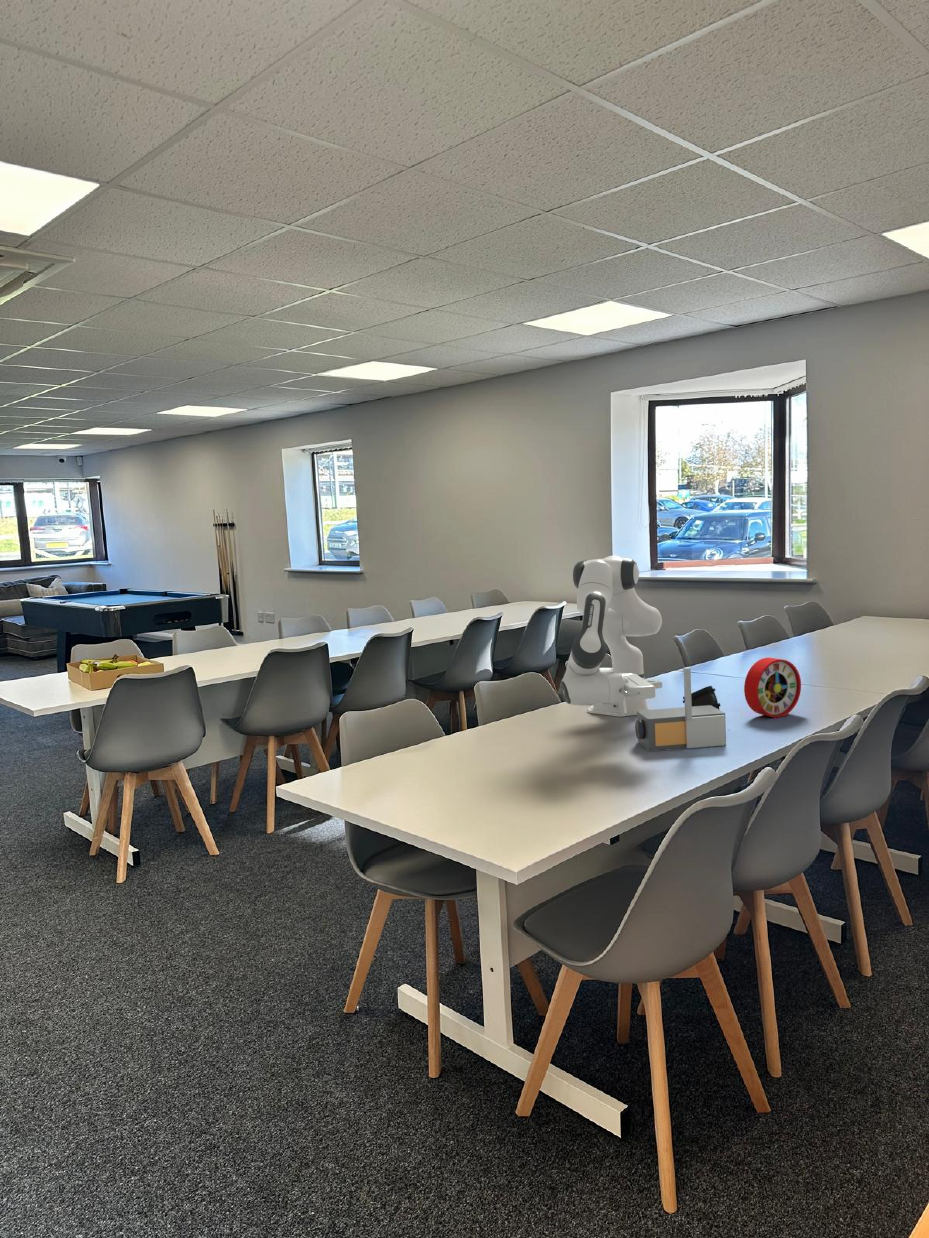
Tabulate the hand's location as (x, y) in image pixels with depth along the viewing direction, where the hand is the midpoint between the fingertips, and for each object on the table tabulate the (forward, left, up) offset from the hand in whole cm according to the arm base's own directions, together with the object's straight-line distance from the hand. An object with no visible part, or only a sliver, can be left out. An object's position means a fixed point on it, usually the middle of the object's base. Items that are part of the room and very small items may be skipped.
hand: (660, 684), depth 255 cm
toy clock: (+19, +56, -21) cm, 63 cm away
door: (+11, +8, -20) cm, 24 cm away
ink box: (-50, +67, -21) cm, 86 cm away
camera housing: (+2, +10, -21) cm, 23 cm away
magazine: (+3, +29, -21) cm, 36 cm away
